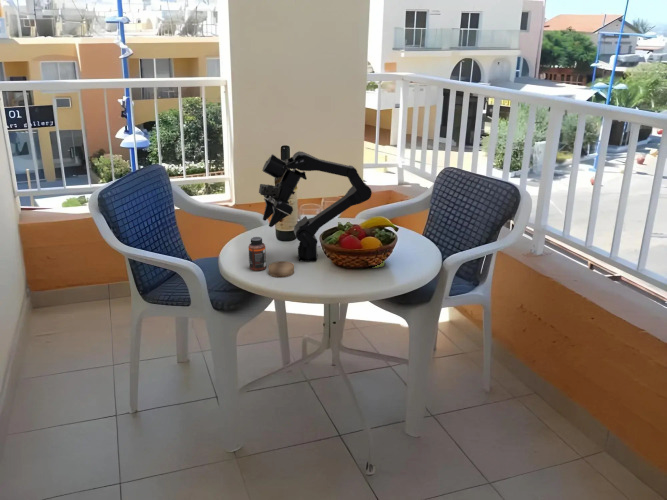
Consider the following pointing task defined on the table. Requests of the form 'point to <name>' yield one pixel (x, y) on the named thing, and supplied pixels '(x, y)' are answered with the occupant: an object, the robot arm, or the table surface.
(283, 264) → the walnut stand
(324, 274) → the table surface
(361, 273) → the table surface
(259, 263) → the supplement bottle
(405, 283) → the table surface
